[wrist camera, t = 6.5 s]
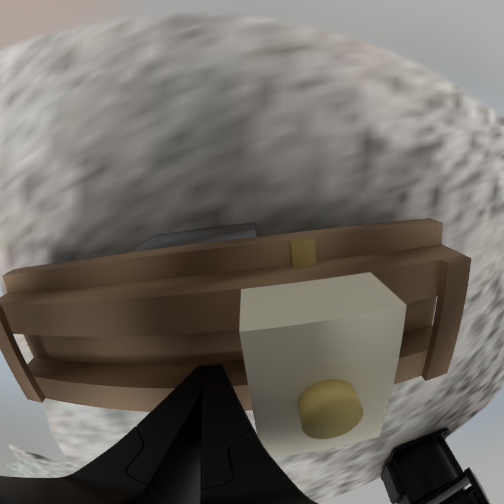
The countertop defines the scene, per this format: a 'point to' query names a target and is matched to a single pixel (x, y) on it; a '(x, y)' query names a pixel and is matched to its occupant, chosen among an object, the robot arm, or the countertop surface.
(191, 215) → the countertop surface
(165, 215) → the countertop surface
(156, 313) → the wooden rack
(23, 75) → the countertop surface
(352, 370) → the block
